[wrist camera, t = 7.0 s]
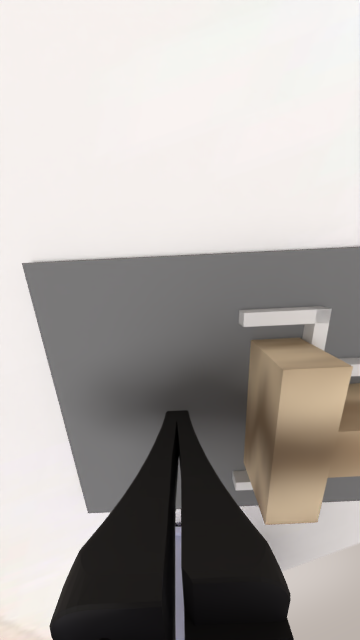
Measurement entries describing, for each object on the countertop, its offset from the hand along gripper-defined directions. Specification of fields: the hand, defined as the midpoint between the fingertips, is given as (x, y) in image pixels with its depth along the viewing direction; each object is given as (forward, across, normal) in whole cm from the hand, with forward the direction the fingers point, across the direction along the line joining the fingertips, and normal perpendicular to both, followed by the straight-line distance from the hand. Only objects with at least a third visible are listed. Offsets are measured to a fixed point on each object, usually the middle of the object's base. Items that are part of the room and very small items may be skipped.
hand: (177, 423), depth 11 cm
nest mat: (+2, -4, 0) cm, 4 cm away
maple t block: (+1, -10, 0) cm, 10 cm away
